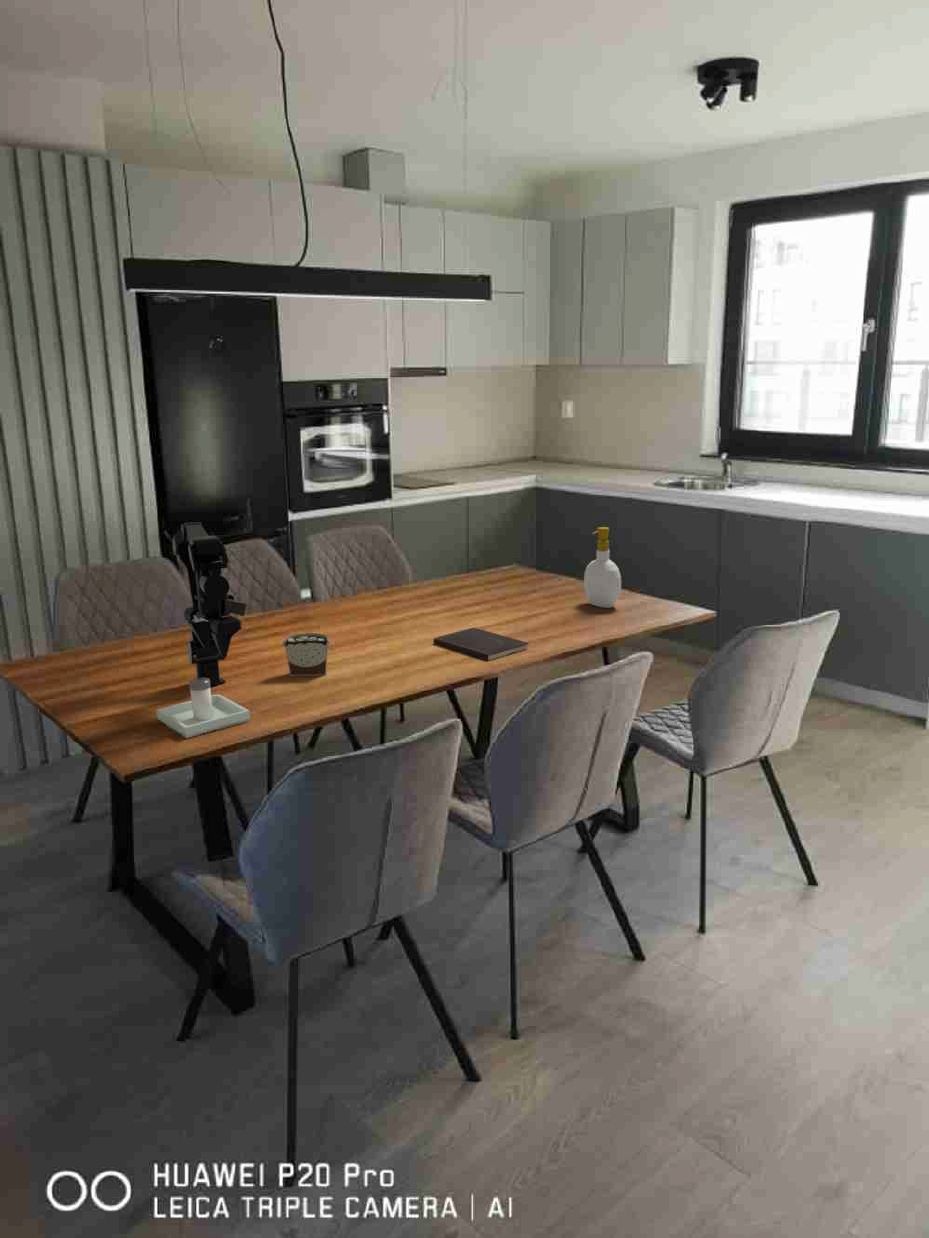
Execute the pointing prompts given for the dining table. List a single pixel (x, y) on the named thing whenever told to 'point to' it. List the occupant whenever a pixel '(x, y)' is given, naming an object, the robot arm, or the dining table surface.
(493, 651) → the hardcover book
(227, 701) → the tray
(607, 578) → the soap bottle
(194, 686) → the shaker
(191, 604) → the robot arm
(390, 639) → the dining table surface
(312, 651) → the food container
